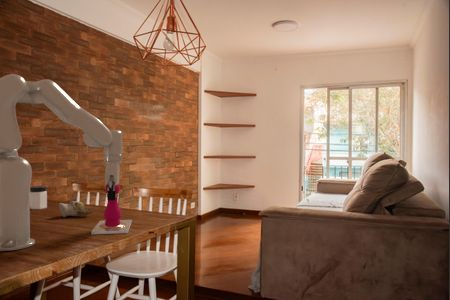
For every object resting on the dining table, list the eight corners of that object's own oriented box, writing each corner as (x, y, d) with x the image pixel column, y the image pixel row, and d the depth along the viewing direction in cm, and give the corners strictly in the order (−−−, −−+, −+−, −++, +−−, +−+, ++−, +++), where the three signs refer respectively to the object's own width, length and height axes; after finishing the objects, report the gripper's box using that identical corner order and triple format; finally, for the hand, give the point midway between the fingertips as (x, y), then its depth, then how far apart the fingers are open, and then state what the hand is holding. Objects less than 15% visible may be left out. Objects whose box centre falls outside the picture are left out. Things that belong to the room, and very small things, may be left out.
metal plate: (127, 233, 140) (127, 229, 140) (91, 234, 138) (91, 231, 138) (131, 222, 160) (131, 219, 160) (100, 223, 157) (100, 220, 157)
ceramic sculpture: (58, 198, 174) (90, 197, 181) (57, 215, 174) (89, 214, 181) (59, 201, 165) (93, 201, 172) (58, 219, 165) (91, 218, 172)
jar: (39, 206, 199) (39, 185, 199) (50, 207, 196) (50, 186, 196) (25, 208, 191) (25, 187, 190) (36, 209, 188) (36, 187, 188)
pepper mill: (100, 226, 146) (100, 179, 145) (109, 222, 153) (109, 177, 153) (116, 227, 144) (116, 179, 144) (124, 223, 151) (124, 178, 151)
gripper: (107, 158, 156) (107, 195, 156) (100, 159, 139) (100, 202, 139) (124, 158, 158) (124, 195, 158) (119, 159, 141) (119, 201, 141)
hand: (113, 198), depth 149 cm, fingers open, 9 cm apart
